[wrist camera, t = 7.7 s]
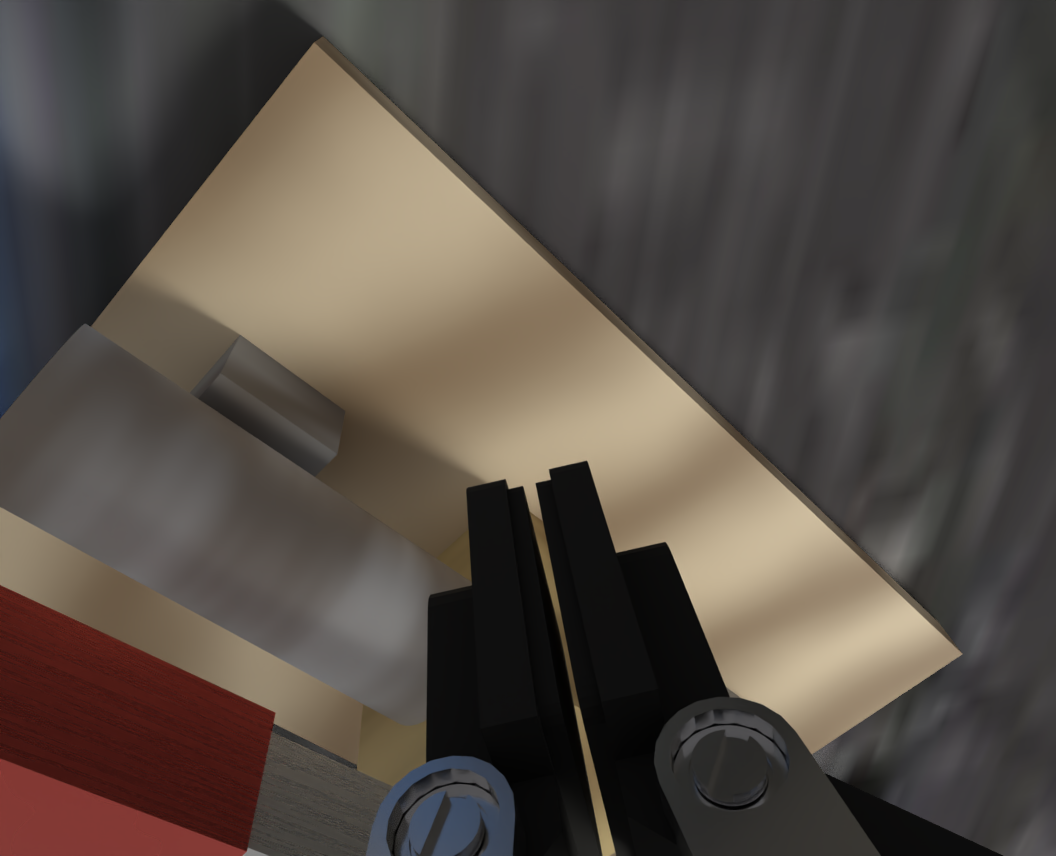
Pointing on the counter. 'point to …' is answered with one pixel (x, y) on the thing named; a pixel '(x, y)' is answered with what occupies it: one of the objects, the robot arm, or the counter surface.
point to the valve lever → (153, 757)
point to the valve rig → (398, 448)
